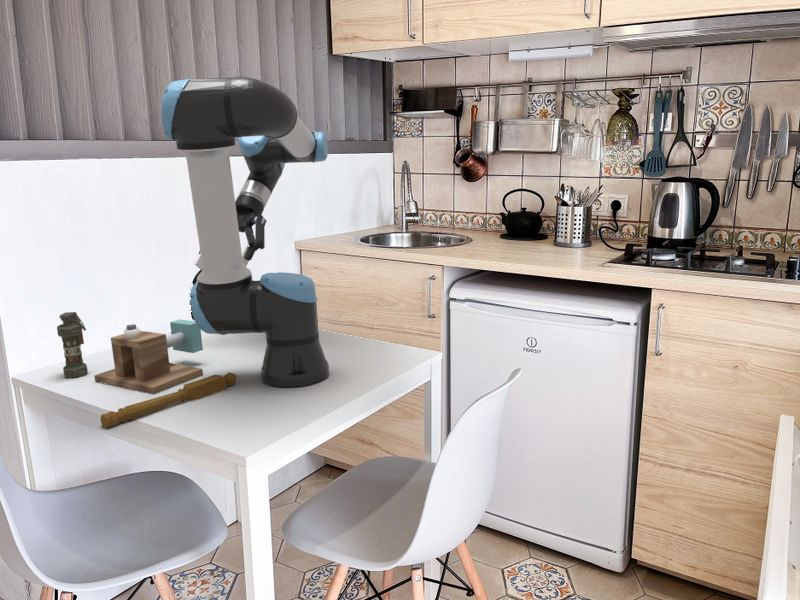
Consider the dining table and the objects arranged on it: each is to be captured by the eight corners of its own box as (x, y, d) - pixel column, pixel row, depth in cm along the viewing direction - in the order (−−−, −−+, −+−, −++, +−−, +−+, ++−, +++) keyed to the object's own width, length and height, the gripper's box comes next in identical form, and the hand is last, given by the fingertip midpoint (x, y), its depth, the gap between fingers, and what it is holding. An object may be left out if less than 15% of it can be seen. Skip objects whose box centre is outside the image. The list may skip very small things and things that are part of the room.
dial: (143, 336, 151) (141, 324, 151) (131, 340, 149) (129, 327, 148) (134, 335, 153) (132, 323, 152) (121, 338, 150) (120, 326, 150)
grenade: (85, 377, 158) (76, 315, 155) (59, 378, 158) (49, 316, 155) (98, 369, 164) (89, 309, 161) (72, 370, 164) (63, 310, 161)
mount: (203, 374, 156) (198, 331, 154) (153, 394, 145) (147, 347, 142) (145, 364, 166) (140, 323, 164) (95, 381, 155) (88, 337, 153)
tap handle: (98, 412, 128) (230, 369, 150) (100, 427, 128) (231, 382, 151) (106, 415, 126) (238, 372, 148) (108, 431, 126) (239, 385, 149)
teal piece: (202, 349, 164) (199, 321, 163) (161, 364, 154) (157, 334, 152) (182, 346, 168) (179, 319, 166) (141, 360, 157) (137, 331, 156)
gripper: (296, 211, 177) (264, 279, 168) (224, 209, 188) (191, 273, 179) (281, 193, 171) (248, 262, 162) (208, 192, 182) (173, 257, 173)
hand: (218, 268), depth 170 cm, fingers open, 13 cm apart
